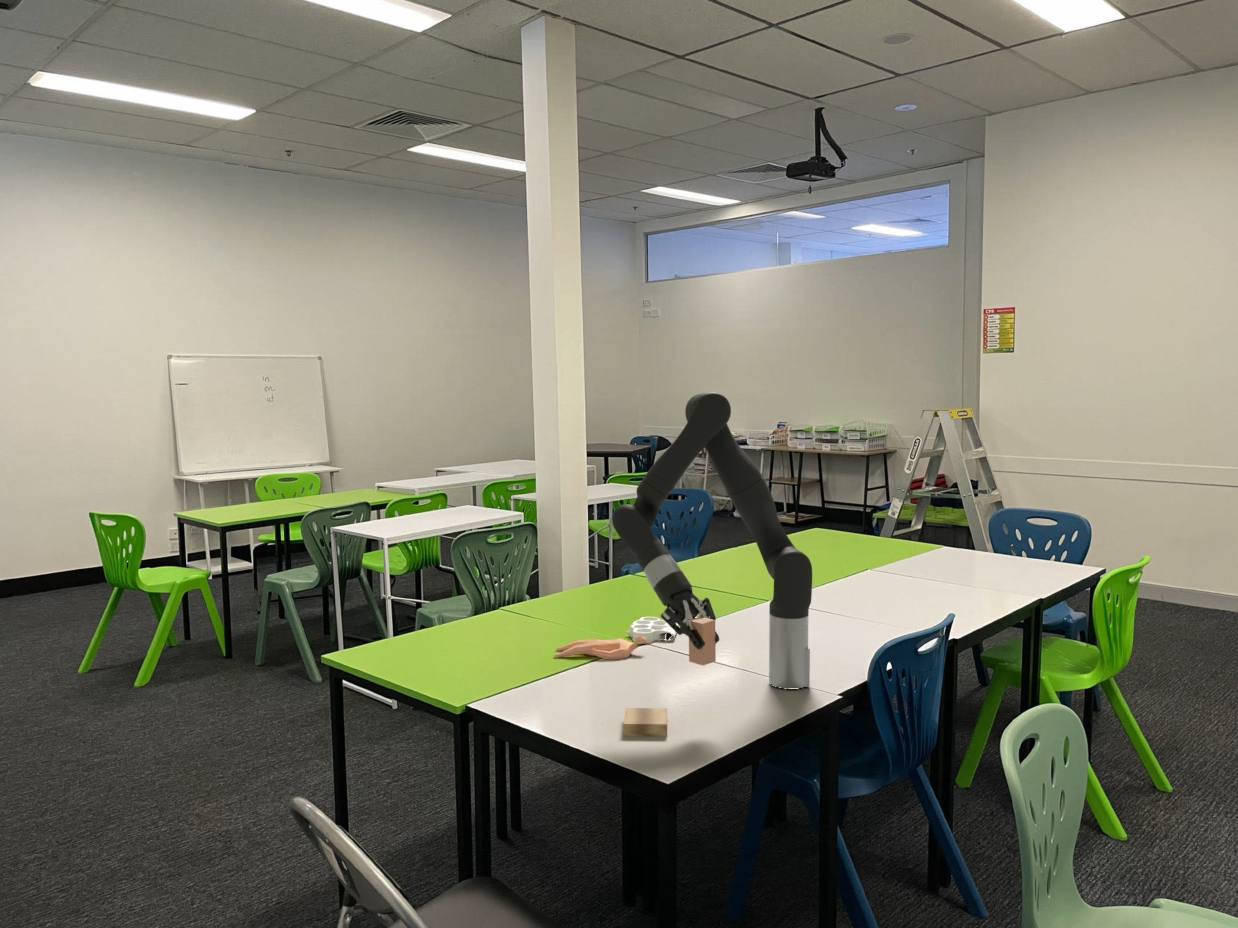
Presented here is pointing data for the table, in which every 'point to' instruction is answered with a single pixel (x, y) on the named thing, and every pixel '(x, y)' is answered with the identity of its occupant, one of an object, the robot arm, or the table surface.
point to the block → (708, 635)
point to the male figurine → (601, 648)
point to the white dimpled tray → (651, 629)
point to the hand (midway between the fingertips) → (709, 644)
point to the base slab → (645, 722)
